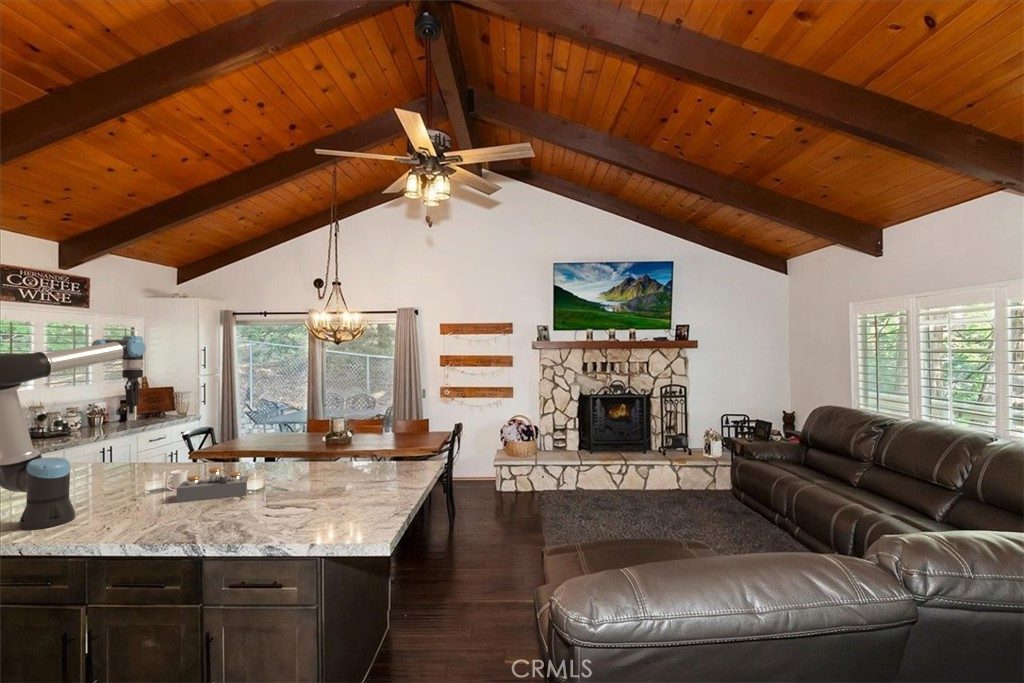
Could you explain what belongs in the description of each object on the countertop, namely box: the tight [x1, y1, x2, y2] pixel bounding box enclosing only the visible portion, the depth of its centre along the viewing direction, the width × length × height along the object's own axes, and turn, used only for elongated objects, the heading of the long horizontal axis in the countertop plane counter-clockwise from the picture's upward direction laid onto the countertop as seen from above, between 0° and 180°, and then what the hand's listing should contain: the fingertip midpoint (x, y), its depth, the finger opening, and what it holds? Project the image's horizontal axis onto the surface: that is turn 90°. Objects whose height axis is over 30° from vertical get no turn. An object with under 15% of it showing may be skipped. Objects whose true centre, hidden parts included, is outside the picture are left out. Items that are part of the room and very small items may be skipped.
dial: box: [220, 475, 228, 484], centre depth 212 cm, size 3×3×3 cm
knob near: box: [186, 475, 201, 485], centre depth 211 cm, size 5×5×7 cm
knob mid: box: [208, 467, 222, 484], centre depth 215 cm, size 5×5×7 cm
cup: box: [164, 469, 189, 491], centre depth 224 cm, size 7×10×8 cm
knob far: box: [229, 471, 242, 482], centre depth 218 cm, size 5×5×7 cm
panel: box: [176, 475, 250, 503], centre depth 215 cm, size 26×12×6 cm, turn 113°
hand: (132, 420), depth 222 cm, fingers closed
